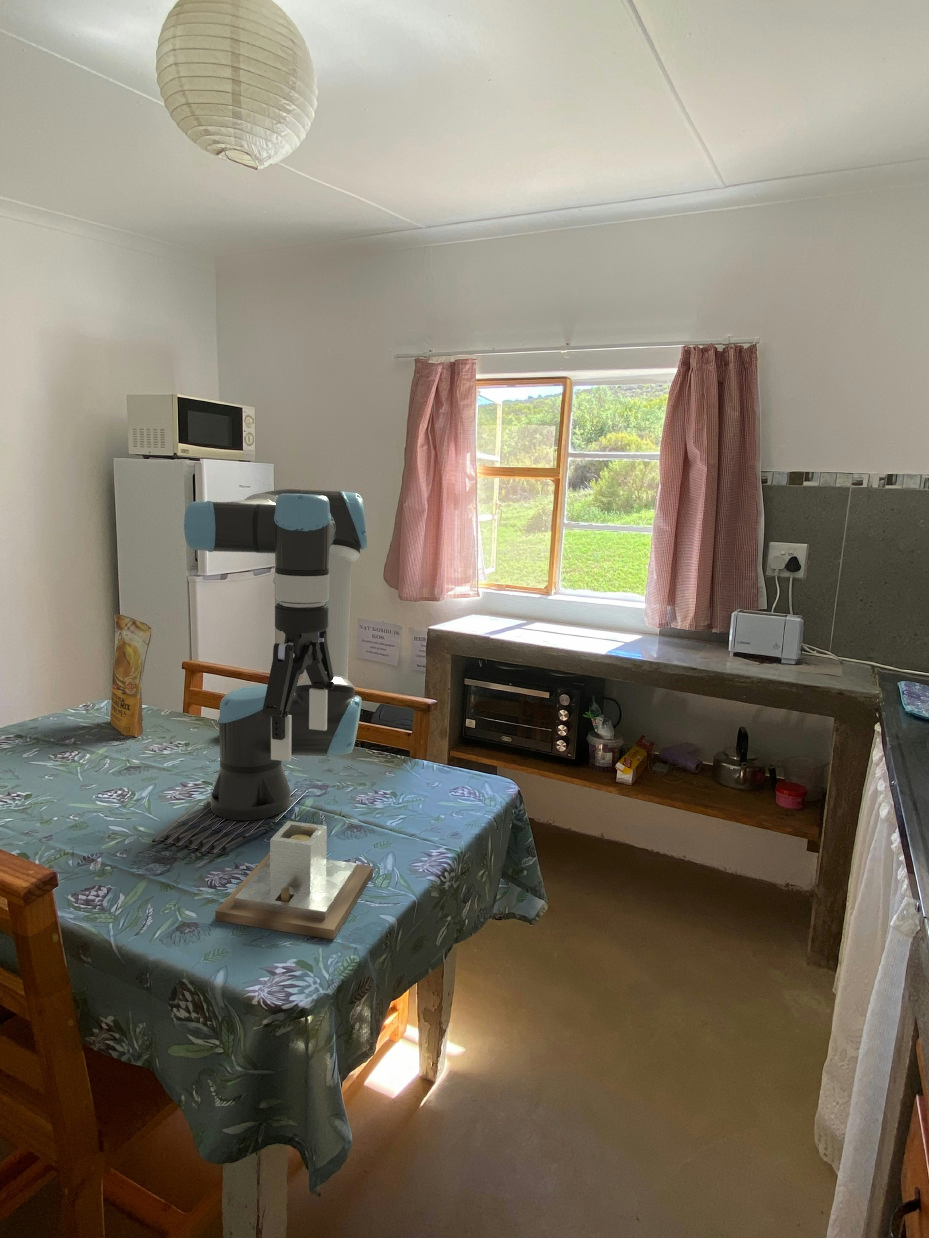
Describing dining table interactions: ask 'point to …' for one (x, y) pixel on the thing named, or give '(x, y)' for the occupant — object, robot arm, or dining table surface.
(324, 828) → the flange
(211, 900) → the dining table surface
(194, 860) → the dining table surface
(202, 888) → the dining table surface
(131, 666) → the pancake mix bag
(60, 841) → the dining table surface
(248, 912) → the post board
